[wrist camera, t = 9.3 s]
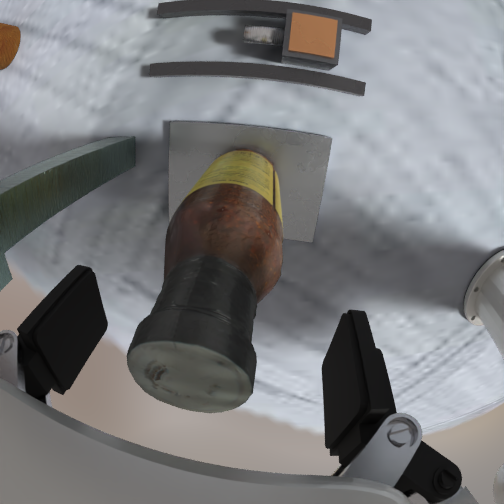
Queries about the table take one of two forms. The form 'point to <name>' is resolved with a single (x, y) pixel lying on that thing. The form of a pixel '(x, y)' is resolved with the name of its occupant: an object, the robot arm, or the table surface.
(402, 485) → the robot arm
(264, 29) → the orange-faced grey cube
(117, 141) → the frame
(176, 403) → the sauce bottle
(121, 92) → the table surface
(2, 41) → the disposable coffee cup
